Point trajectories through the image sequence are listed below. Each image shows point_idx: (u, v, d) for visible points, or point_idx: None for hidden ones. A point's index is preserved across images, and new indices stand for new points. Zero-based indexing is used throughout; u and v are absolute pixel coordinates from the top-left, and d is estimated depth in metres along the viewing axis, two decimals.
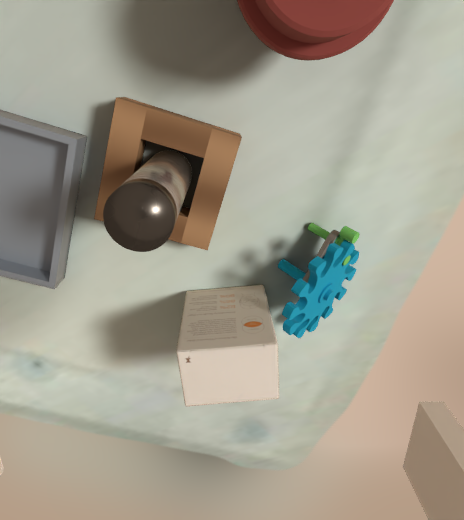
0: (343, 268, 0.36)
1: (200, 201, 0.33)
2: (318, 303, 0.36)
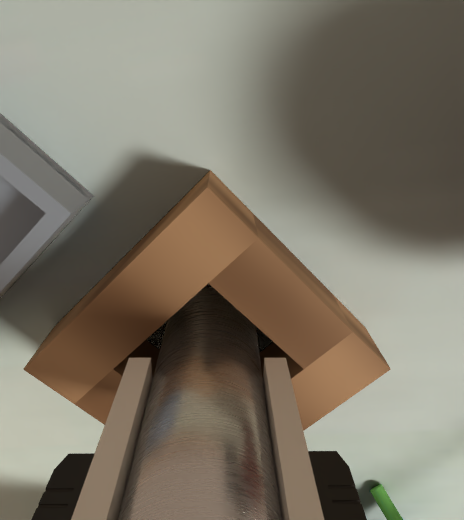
0: None
1: None
2: None
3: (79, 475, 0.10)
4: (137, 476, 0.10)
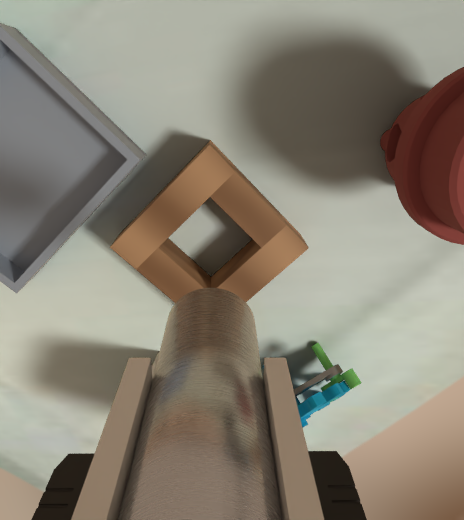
0: (326, 404, 0.34)
1: (232, 285, 0.29)
2: None
3: (79, 475, 0.10)
4: (137, 475, 0.10)
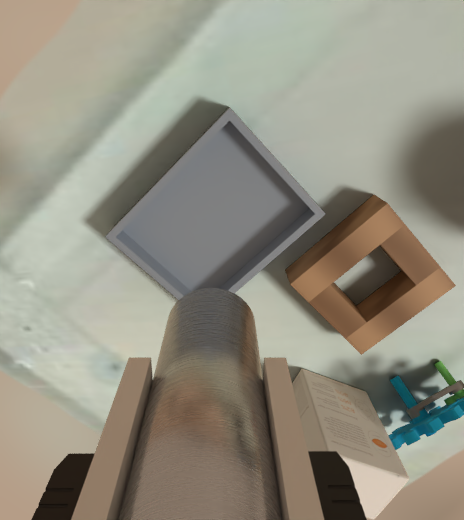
0: None
1: (387, 315, 0.35)
2: None
3: (79, 475, 0.10)
4: (138, 474, 0.10)
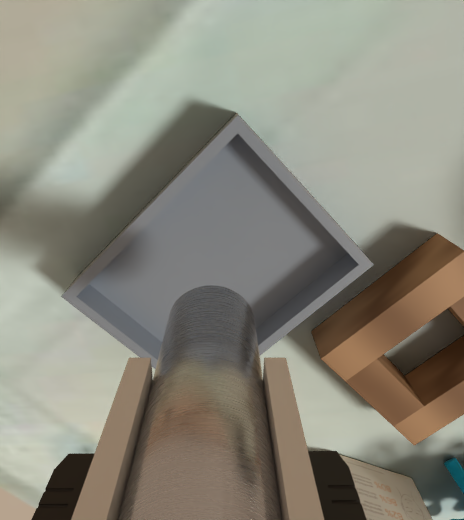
0: None
1: (452, 397, 0.25)
2: None
3: (79, 475, 0.10)
4: (140, 466, 0.10)
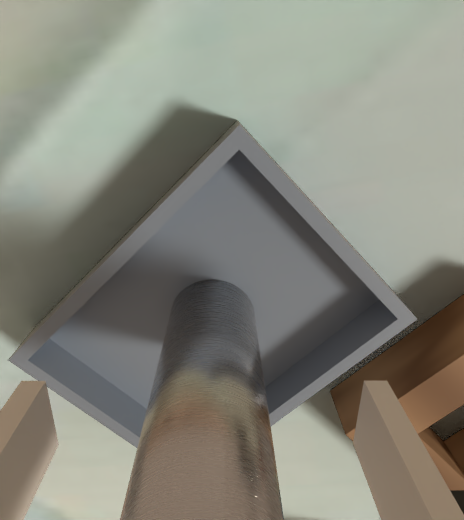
0: None
1: None
2: None
3: None
4: (145, 447, 0.10)
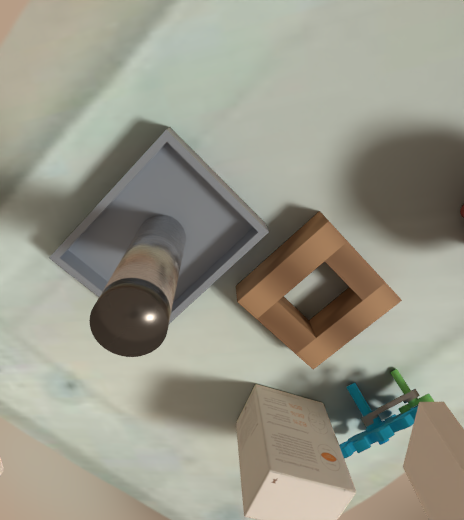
0: None
1: (336, 330, 0.35)
2: None
3: None
4: None
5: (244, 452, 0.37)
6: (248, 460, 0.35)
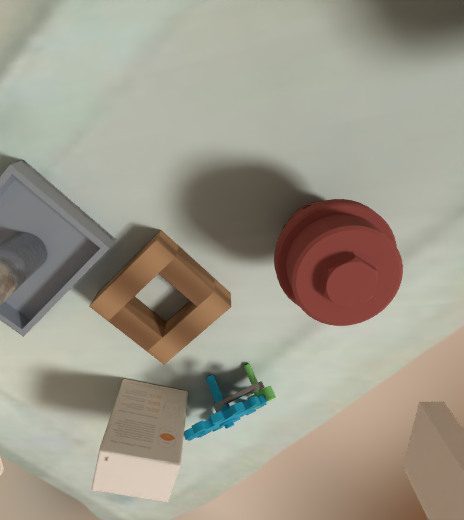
0: (250, 410, 0.45)
1: (178, 331, 0.41)
2: (218, 425, 0.44)
3: None
4: None
5: None
6: None
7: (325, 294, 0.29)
